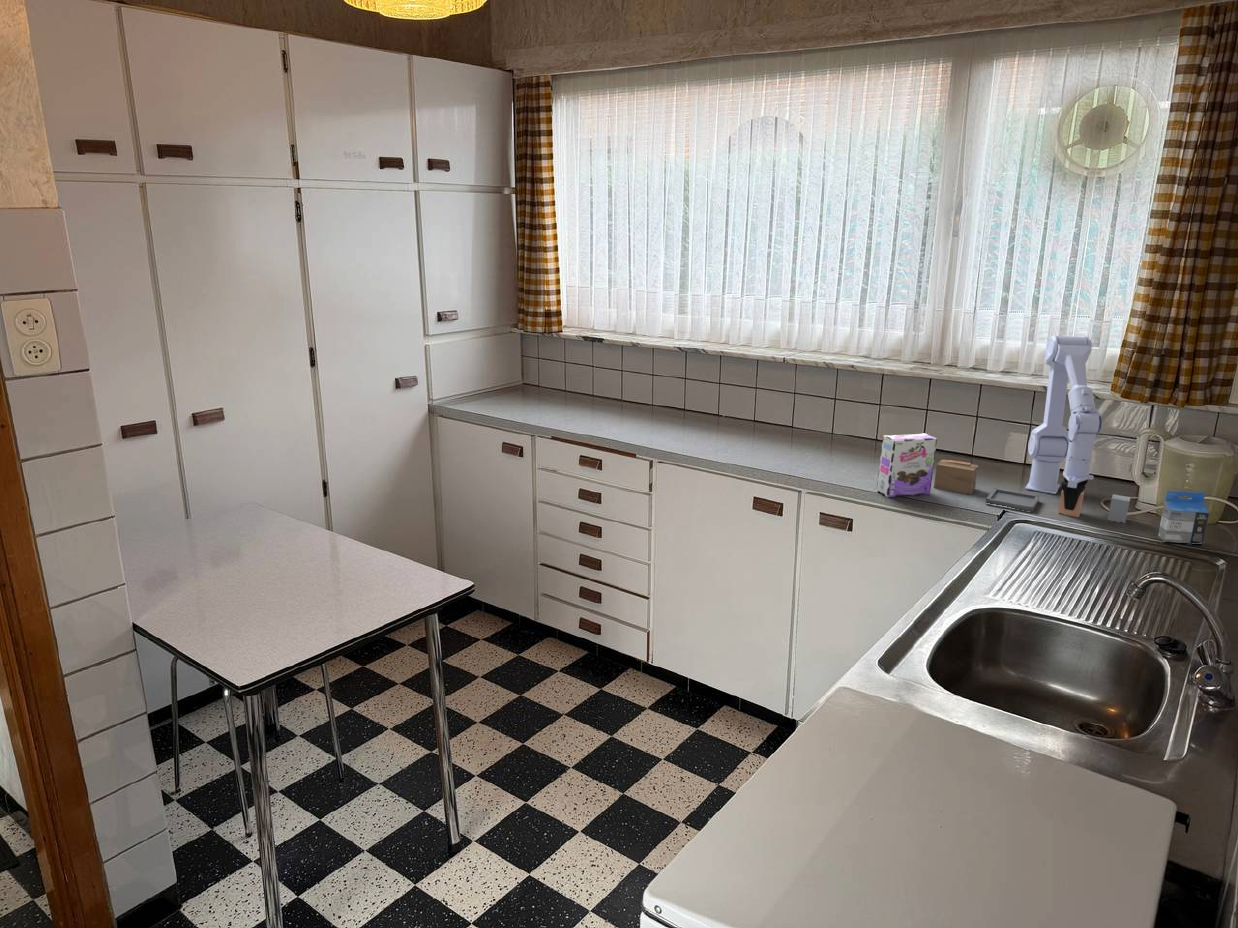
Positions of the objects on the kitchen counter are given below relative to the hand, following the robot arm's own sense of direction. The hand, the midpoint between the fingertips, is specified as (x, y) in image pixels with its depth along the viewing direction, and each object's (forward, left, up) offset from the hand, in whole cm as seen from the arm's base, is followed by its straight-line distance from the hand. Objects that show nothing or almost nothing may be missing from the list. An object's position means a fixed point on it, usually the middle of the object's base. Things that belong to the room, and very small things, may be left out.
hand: (1070, 507), depth 230 cm
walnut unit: (-4, -30, -2) cm, 30 cm away
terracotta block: (0, 0, -2) cm, 2 cm away
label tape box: (+7, +25, -2) cm, 26 cm away
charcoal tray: (0, -14, -2) cm, 14 cm away
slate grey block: (-2, +11, -2) cm, 11 cm away
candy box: (+9, -41, -2) cm, 42 cm away
